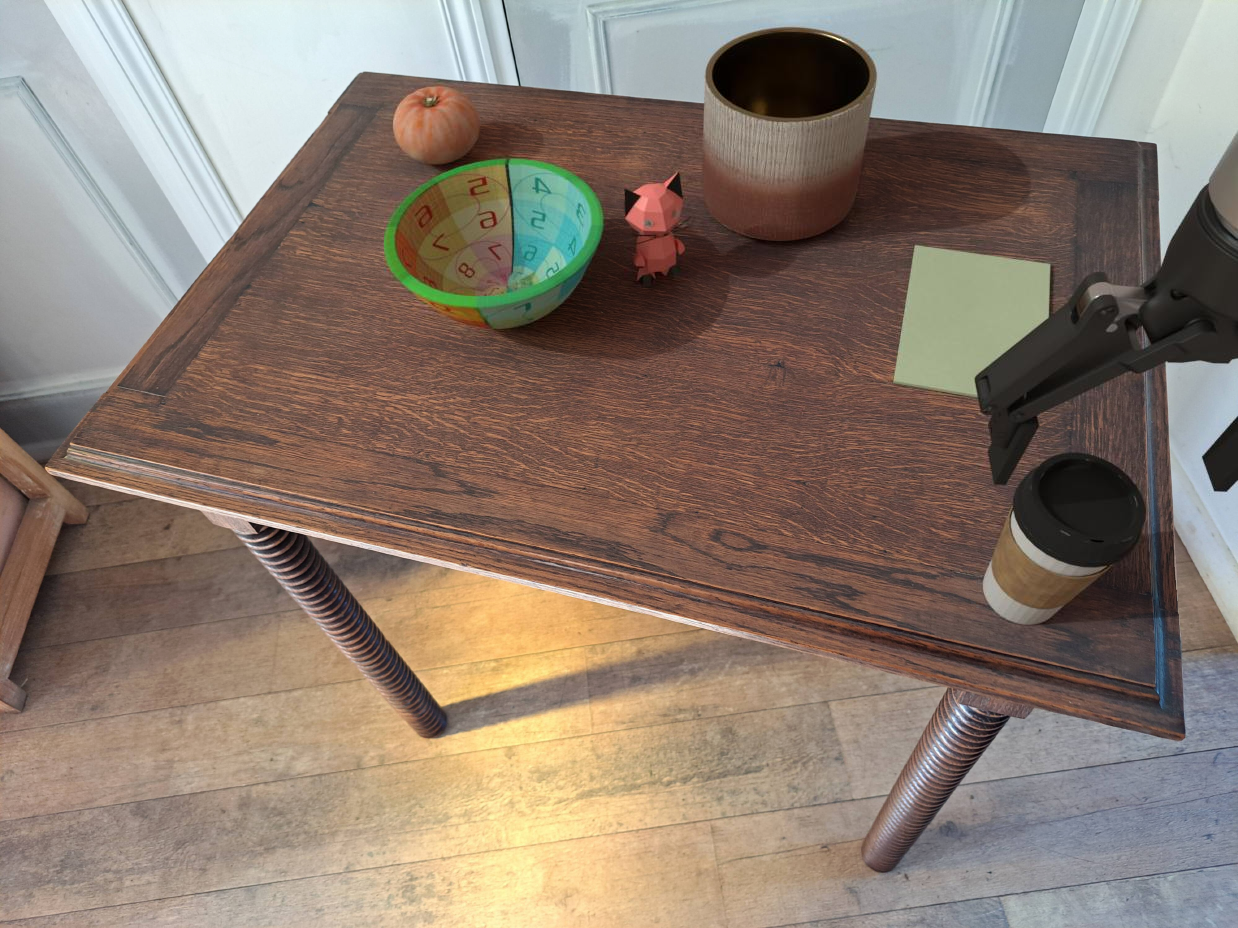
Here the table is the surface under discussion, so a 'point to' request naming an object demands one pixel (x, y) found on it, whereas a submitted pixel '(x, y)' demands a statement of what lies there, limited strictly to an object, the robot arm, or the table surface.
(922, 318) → the sage mat
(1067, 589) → the coffee cup
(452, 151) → the pumpkin
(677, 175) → the cat figurine
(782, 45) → the planter
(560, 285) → the bowl
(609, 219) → the table surface
